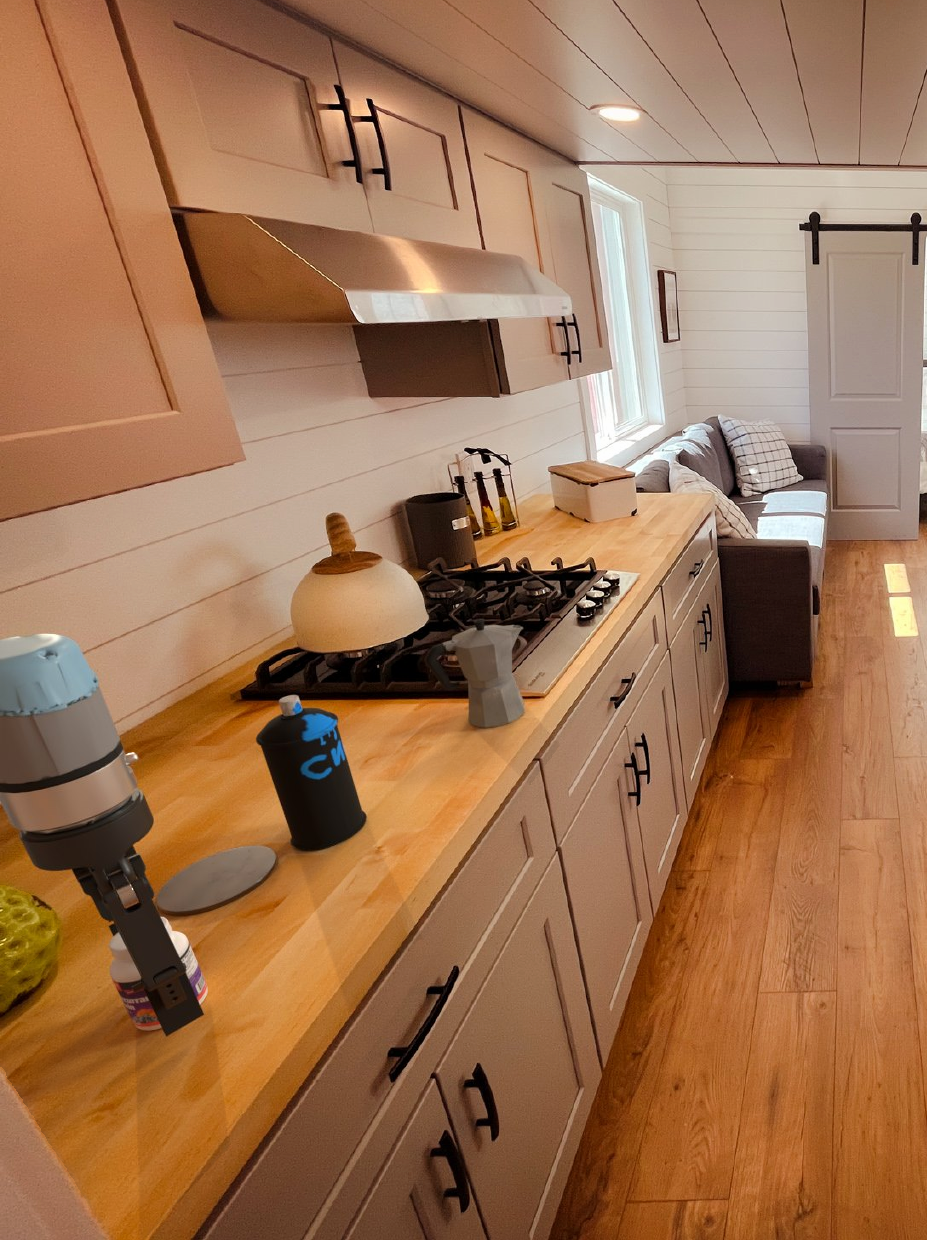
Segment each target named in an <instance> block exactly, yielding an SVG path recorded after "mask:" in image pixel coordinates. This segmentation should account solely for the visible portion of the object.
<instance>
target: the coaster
mask: <svg viewBox="0 0 927 1240" xmlns="http://www.w3.org/2000/svg"><path fill="white" fill-rule="evenodd" d="M278 861H279V859H278V855H277V853H276V852H275V850H274V849H272V848H270V847H268V846H265V845H256V844H255V845H254V844H253V845H243V846H236V847H233V848H229V849H225V850H221V851H219V852H215V853H213V854H211V855H209V856H205V857H204V858H201V859H199V860H197V861H195V862H193V863H191V864H190V865H188V866H186V867H184V868H182V869H181V870H180V871H179V872H177V873H175V874H174V875H173V876H171V877H170V878H169V879H168V880H167V881H166V882H165V883H164V884H163V885H162V886H161V888H160V889H159V890H158V893H157V894H156V898H155V903H156V907H158V908H157V909H158V910H159V911H160V912H161V913H163V914H165V915H167V916H168V915H169V916H174V917H175V916H176V917H177V916H178V917H180V916H191V915H197V914H202V913H205V912H209V911H212V910H215V909H218V908H221V907H223V906H226V905H228V904H231V903H232V902H235V901H237V900H239V899H241V898H242V897H244V896H246V895H248V894H249V893H251V892H253V891H254V890H255V889H257V888H258V887H260V886H261V885H262V884H264V882H266V881H267V880H268V878H269V877H271V875H272V874H273V873H274V871H275V870H276V868H277V865H278Z"/></svg>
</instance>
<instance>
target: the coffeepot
mask: <svg viewBox="0 0 927 1240" xmlns="http://www.w3.org/2000/svg"><path fill="white" fill-rule="evenodd" d="M473 624H474V626H475V627H470V628H468V629H466V630H464V631H461V632H459V633H456V634H454V635H453V636H452V639H451V640H447V641H444V642H442V643H439V644H436V645H433V646H432V647H431V648H430V649H429V651H428V652H427V654H426V656H425V657H424V663H425V665H426V667H428V669H429V670H430V671H431V673H432V674H433V675H434V677H436V680H437V681H438V682H439V683H440V685H441V686H442V687H443V689H444V690H446V691H452V690H455V689H457V688H459V687H460V685H461V683H460V681H456V682H451V681H450V677H449V675H448V673H446V672H445V671H444V669H443V666H442V663H441V662H440V661H439V659H438V658H439V657H440V656H444V655H451V654H455V656H456V657H455V658H456V659H457V661H458V665H459V667H460V669H461V672H462V674H463V676H464V678H465V679H467V681H468V682H467V683H468V685H467V687H468V692H467V693H468V724H469V725H472V726H474V727H477V728H484V729H488V728H497V727H501V726H505V725H507V724H510V723H512V722H514V721H516V720H518V719H519V718H521V717H522V716H523V714H525V713H526V705H525V701H524V697H523V696H522V694H521V691H520V689H519V686H518V683H517V681H516V679H515V677H514V675H513V671H512V670H513V648H514V646H515V643H516V641H517V639H518V636H519V634H520V632H521V631H522V630H524V627H523V626H521V625H520V624H516V625H515V624H510V625H498V624H489V625H485V619H484V618H477V619H475V620H473Z"/></svg>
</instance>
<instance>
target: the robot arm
mask: <svg viewBox="0 0 927 1240" xmlns="http://www.w3.org/2000/svg"><path fill="white" fill-rule="evenodd" d="M139 760H140V757H139V756H138V754H137V753H136V752H128V753H127V754H126V751H125V750H124V746H123V744H122V741H121V737H120V734H119V732H118V730H117V728H116V725H115V723H114V720H113V718H112V715H111V713H110V710H109V707H108V705H107V702H106V700H105V698H104V695H103V693H102V690H101V687H100V685H99V677H98V675H97V673H95V671H94V669H92V668H91V667H90V665H89V663H88V661H87V659H86V656H85V655H84V654H83V651H82V649H81V648H80V645H79V644H78V643H77V642H76V641H75V640H74V639H72V638H70V637H68V636H65V635H62V634H57V633H55V634H54V633H38V634H37V633H35V634H31V635H26V636H11V637H6V638H1V639H0V803H1V806H2V808H3V810H4V812H5V814H6V816H7V818H8V820H9V822H10V824H11V826H12V827H13V828H14V829H16V830H19V832H18V836H19V839H20V841H21V843H22V845H23V847H24V849H25V852H26V853H27V855H28V857H29V859H30V861H31V863H32V864H33V866H34V867H36V868H37V869H39V870H42V871H47V872H63V871H72V874H73V876H74V877H75V880H76V881H77V883H78V884H79V886H80V887H81V889H82V892H83V893H84V894H85V895H86V896H89V897H91V900H92V902H93V903H94V906H95V907H96V910H97V911H98V914H99V915H100V918H102V919H103V920H105V921H108V923H111V924H109V925H108V928H109V930H110V932H111V935H112V936H113V937H114V936H115V935H116V934H117V933H118V932H119V934H120V936H121V938H122V940H123V942H124V944H125V946H126V948H127V950H128V952H129V954H130V956H131V958H132V960H133V962H134V964H135V966H136V968H137V970H138V972H139V974H140V976H141V979H140V982H139V983H137V984H136V985H134V986H132V989H133V991H134V993H136V992H138V991H140V990H142V989H144V991H145V993H146V995H147V998H148V1000H149V1002H150V1004H151V1006H152V1008H153V1010H154V1012H155V1014H156V1016H157V1019H158V1021H159V1023H160V1025H161V1027H162V1028H161V1029H162V1032H163V1033H164V1035H165V1036H166V1038H167V1037H169V1036H170V1035H172V1034H173V1033H175V1032H177V1031H178V1030H181V1029H183V1028H184V1027H186V1026H187V1025H189V1024H191V1023H193V1022H194V1021H196V1020H198V1019H199V1018H201V1017H204V1016H205V1013H204V1011H203V1008H202V1005H201V1004H199V1001H198V999H197V997H196V995H195V992H194V990H193V988H192V985H191V983H190V981H189V979H188V976H187V974H186V971H187V970H186V968H187V967H186V965H185V963H183V962H182V961H181V959H180V957H179V955H178V953H177V951H176V949H175V947H174V944H173V942H172V940H171V938H170V936H169V934H168V932H167V930H166V928H165V925H164V923H163V921H162V919H161V917H162V916H161V915H160V913H159V911H158V908H157V905H156V904H155V902H154V900H153V899H154V898H155V895H156V893H155V891H154V889H153V887H152V885H151V883H150V881H149V879H148V877H147V875H146V873H145V872H146V869H147V865H146V863H145V862H144V860H143V858H142V856H141V854H140V853H137V850H136V849H135V847H134V845H136V844H137V843H138V842H140V841H141V840H143V839H144V838H145V837H146V836H147V835H148V834H149V832H150V831H151V830H152V828H153V827H154V823H155V818H154V816H153V813H152V810H151V808H150V806H149V803H148V801H147V799H146V797H145V794H144V792H143V790H142V789H140V788H138V784H139V782H138V779H137V777H136V775H135V773H134V770H133V768H132V767H131V765H133V764H135V763H138V762H139ZM112 922H113V923H112ZM113 937H112V938H113Z"/></svg>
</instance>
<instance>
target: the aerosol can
mask: <svg viewBox="0 0 927 1240" xmlns="http://www.w3.org/2000/svg"><path fill="white" fill-rule="evenodd" d="M278 704H279V707H280V710H281V714H279V715H277V716H275V717H273V718H272V719H270V720H269V721H268V722H267V723H266V724H265V725H264V726H263V728H262V729H261V730H260V731H259V732H258V733H257V735H256V736H255V737H256V738H255V743H257V745H258V746H260V748H261V750H262V751H261V752H262V754H263V757H264V759H265V763H266V765H267V768H268V772H269V775H270V777H271V780H272V783H273V787H274V789H275V792H276V795H277V798H278V800H279V804H280V806H281V810H282V812H283V815H284V818H285V821H286V825H287V826H288V830H289V833H290V836H291V837H290V844H291V846H292V847H293V848H294V849H296V850H300V851H318V850H324V849H326V848H327V849H328V848H331V847H333V846H336V845H339V844H341V843H343V842H345V841H347V840H348V839H350V838H352V837H353V836H354V835H356V834H358V833H359V831H361V829H362V828H363V827H364V826H365V824H366V822H367V818H368V817H367V814H366V812H365V811H363V809H362V805H361V801H360V798H359V794H358V791H357V788H356V784H355V781H354V778H353V775H352V774H353V773H352V770H351V767H350V764H349V761H348V757H347V754H346V751H345V747H344V743H343V740H342V737H341V734H340V730H339V727H338V722H339V717H338V715H337V714H336V713H334V712H331V711H327V710H326V709H325V710H324V709H321V708H319V707H302V704H301V700H300V697H299V695H297V694H290V695H287V696H283V697H281V698H280V699H279V700H278Z"/></svg>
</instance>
